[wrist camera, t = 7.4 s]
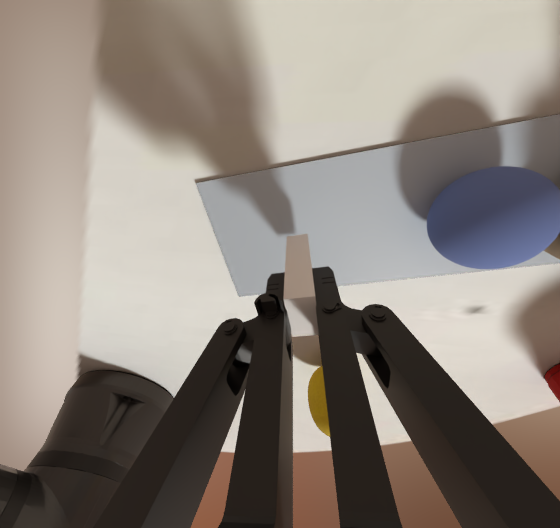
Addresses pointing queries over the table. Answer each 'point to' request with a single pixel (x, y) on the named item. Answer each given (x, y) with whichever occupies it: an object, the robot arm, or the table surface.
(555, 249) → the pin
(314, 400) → the lemon
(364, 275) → the plate
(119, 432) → the robot arm
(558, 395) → the plastic cup
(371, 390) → the table surface
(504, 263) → the ball
